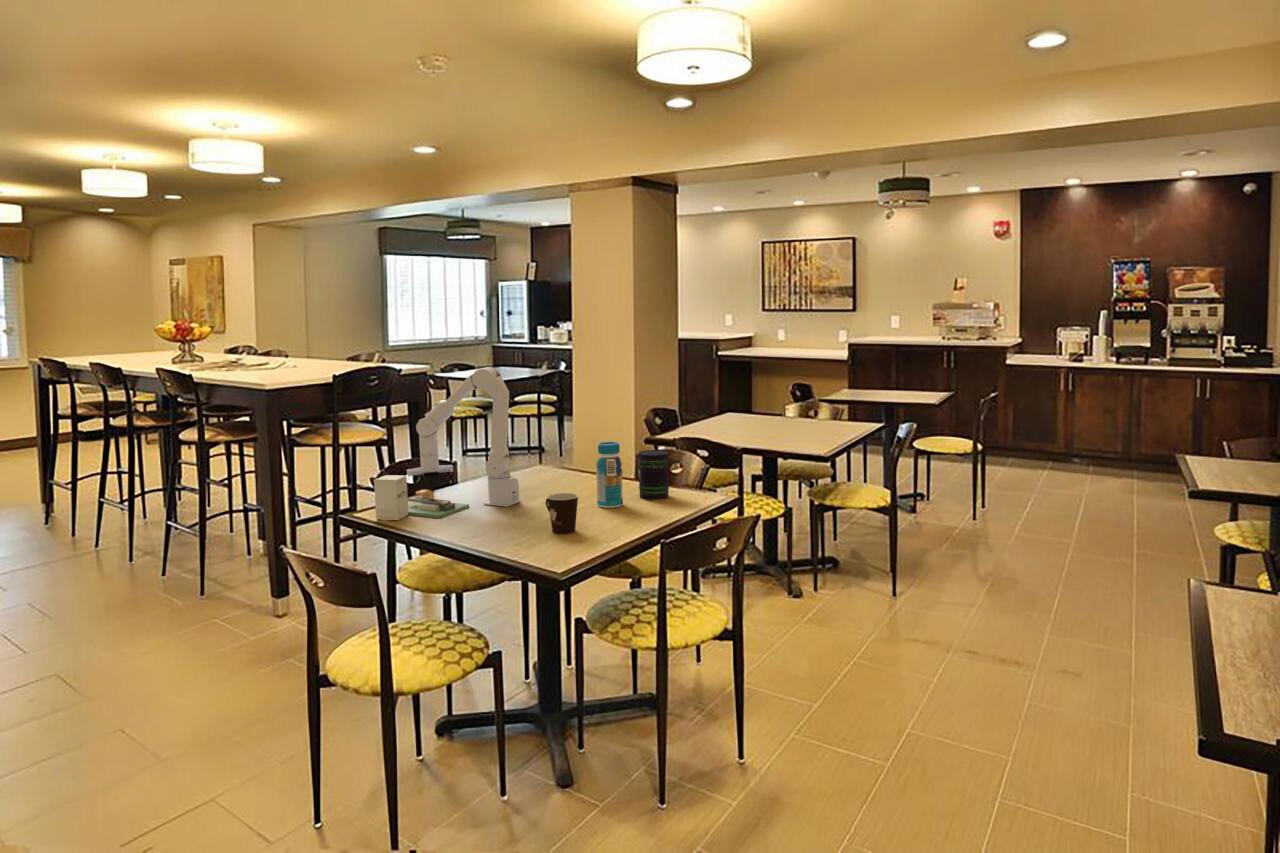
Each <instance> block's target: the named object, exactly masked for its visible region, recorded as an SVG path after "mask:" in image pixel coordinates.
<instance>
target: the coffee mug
mask: <svg viewBox="0 0 1280 853" xmlns="http://www.w3.org/2000/svg"><path fill="white" fill-rule="evenodd" d="M578 502H579V494H576V493H570V492H563V493H553V494H549V495H548V496H547V497H546V499H545V507H546V508H547V511H548V513H549V517H550V526H551V530H552V533H553V534H556V535H569V534H572V533H575V532H576V525H577V524H576V523H577V513H578V512H577V510H578Z"/></svg>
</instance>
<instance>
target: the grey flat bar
mask: <svg viewBox="0 0 1280 853" xmlns="http://www.w3.org/2000/svg"><path fill="white" fill-rule="evenodd" d="M408 502H410V503H411V502H412V503H416V502H419V503H428V504H437V505H445V504H448V503H452V501H451V500H448V499H446V500H445V499H438V498H434V499H430V498H422V496H421V497H420V496H412V497H409V498H408Z"/></svg>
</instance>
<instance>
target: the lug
mask: <svg viewBox="0 0 1280 853" xmlns="http://www.w3.org/2000/svg"><path fill="white" fill-rule="evenodd" d="M415 495H416V496H417V495H418V496H421V498H430V499H435V491H434V492H431V490H429V489H420V490H418V491H415Z"/></svg>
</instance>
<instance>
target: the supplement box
mask: <svg viewBox="0 0 1280 853" xmlns="http://www.w3.org/2000/svg"><path fill="white" fill-rule="evenodd" d="M373 484H374V485H373V487H374V489H373V490H374V505H375V520H376V519H381V520H380V521H387V520H398V521H400V520H401V519H403V518H405V517H407V515H408V505H409V501H408V481H407V475H401V474H400V475H398V474H396V475H393V474H391V475H389V474H387V475H383V476H380V477H377V478H376V479H373ZM408 516H409V515H408Z"/></svg>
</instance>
